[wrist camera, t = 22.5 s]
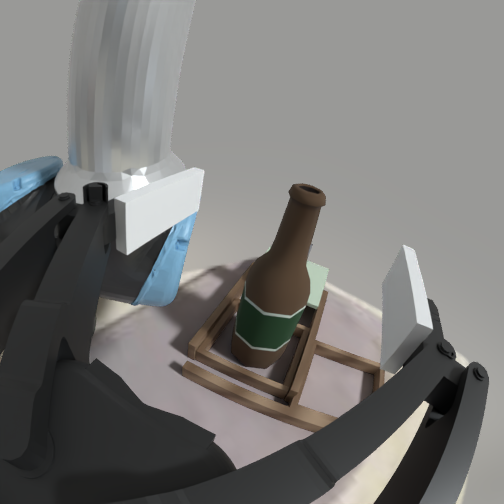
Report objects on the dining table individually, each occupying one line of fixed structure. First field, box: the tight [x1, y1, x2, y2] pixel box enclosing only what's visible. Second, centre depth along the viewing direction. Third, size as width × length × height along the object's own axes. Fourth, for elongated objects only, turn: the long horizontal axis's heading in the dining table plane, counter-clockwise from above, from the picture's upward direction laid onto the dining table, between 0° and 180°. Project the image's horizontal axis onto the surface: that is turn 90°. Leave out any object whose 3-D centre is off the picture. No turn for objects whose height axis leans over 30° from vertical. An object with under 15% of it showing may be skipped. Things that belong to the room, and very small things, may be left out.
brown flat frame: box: [182, 262, 385, 432], centre depth 39 cm, size 27×26×3 cm
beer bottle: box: [231, 184, 326, 369], centre depth 32 cm, size 8×8×24 cm
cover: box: [266, 244, 329, 309], centre depth 48 cm, size 13×13×9 cm
